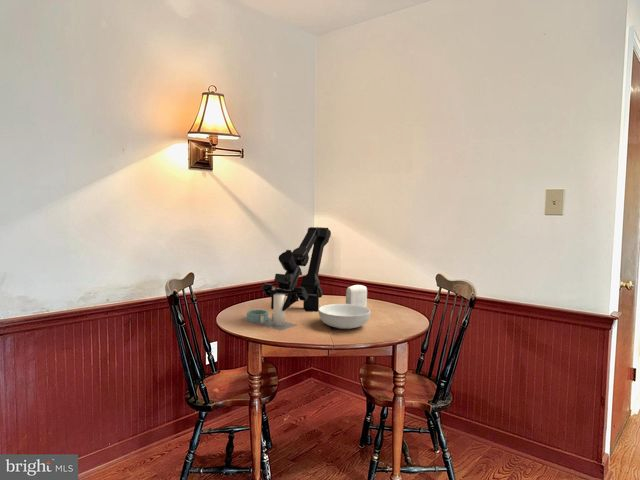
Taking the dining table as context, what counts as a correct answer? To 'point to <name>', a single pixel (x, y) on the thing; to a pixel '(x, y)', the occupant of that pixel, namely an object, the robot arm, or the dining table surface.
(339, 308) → the serving bowl
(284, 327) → the board
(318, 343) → the dining table surface
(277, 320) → the white cylinder
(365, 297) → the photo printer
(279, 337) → the dining table surface
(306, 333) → the dining table surface
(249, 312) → the end holder
